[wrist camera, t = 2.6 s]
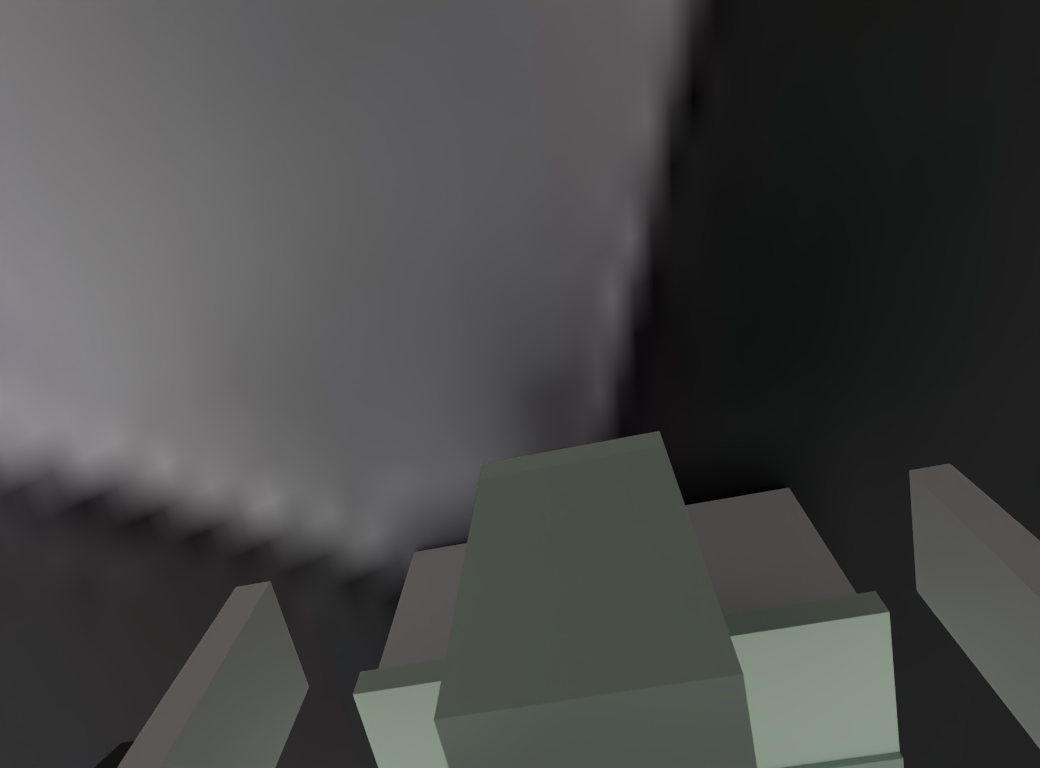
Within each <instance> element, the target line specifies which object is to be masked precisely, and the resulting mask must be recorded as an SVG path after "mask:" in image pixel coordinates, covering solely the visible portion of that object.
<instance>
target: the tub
mask: <svg viewBox="0 0 1040 768" xmlns="http://www.w3.org/2000/svg"><path fill="white" fill-rule="evenodd" d="M685 507H686V509H687V512H688V515H689V518H690V521H691V524H692V527H693V530H694V533H695V536H696V538H697V541H698V544H699V547H700V550H701V553H702V556H703V559H704V562H705V565H706V567H707V570H708V573H709V576H710V579H711V582H712V585H713V588H714V591H715V594H716V596H717V599H718V602H719V605H720V608H721V611H722V614H723V615H727V614H733V613H740V612H746V611H752V610H759V609H765V608H771V607H778V606H784V605H791V604H797V603H803V602H810V601H816V600H822V599H829V598H835V597H841V596H848V595H854V594H856V592H855V590H854V589H853V587H852V586H851V584H850V583H849V581H848V579H847V578H846V576H845V575H844V573H843V572H842V570H841V568H840V567H839V565H838V564H837V562H836V561H835V559H834V557H833V556H832V554H831V553H830V551H829V550H828V548H827V546H826V545H825V543H824V542H823V540H822V539H821V537H820V535H819V534H818V532H817V531H816V529H815V528H814V526H813V524H812V523H811V521H810V520H809V518H808V517H807V515H806V514H805V512H804V510H803V509H802V507H801V506H800V504H799V503H798V501H797V499H796V498H795V496H794V495H793V493H792V492H791V490H790V488H784V489H778V490H772V491H766V492H760V493H755V494H749V495H743V496H737V497H731V498H726V499H720V500H714V501H708V502H702V503H696V504H691V505H685ZM466 546H467V543H464V544H458V545H452V546H447V547H441V548H435V549H429V550H423V551H418V552H414V554H413V557H412V561H411V564H410V567H409V571H408V574H407V577H406V580H405V584H404V587H403V590H402V594H401V597H400V600H399V603H398V607H397V610H396V613H395V616H394V620H393V623H392V626H391V630H390V633H389V636H388V639H387V643H386V646H385V649H384V653H383V656H382V659H381V662H380V666H379V669H383V668H389V667H395V666H402V665H408V664H415V663H421V662H427V661H434V660H440V659H445V658H446V653H447V647H448V642H449V637H450V631H451V626H452V621H453V615H454V610H455V605H456V600H457V594H458V589H459V584H460V578H461V573H462V568H463V562H464V557H465V552H466Z"/></svg>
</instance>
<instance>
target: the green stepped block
mask: <svg viewBox="0 0 1040 768" xmlns="http://www.w3.org/2000/svg"><path fill="white" fill-rule="evenodd" d="M353 696H354V699H355V702H356V705H357V708H358V711H359V713H360V716H361V719H362V722H363V725H364V728H365V731H366V733H367V736H368V739H369V742H370V745H371V748H372V751H373V753H374V756H375V759H376V762H377V765H378V768H904V764H903V757H902V755H901V754H900V752H899V738H898V724H897V710H896V697H895V683H894V669H893V655H892V641H891V628H890V614H889V611H888V609H887V608H886V606H885V605H884V603H883V602H882V600H881V599H880V597H879V596H878V594H877V593H876V592H875V591H873V592H867V593H861V594H854V595H848V596H841V597H835V598H829V599H822V600H816V601H810V602H803V603H797V604H791V605H784V606H778V607H771V608H765V609H759V610H752V611H746V612H740V613H733V614H727V615H723V614H722V611H721V608H720V605H719V602H718V599H717V596H716V594H715V591H714V588H713V585H712V582H711V579H710V576H709V573H708V570H707V567H706V565H705V562H704V559H703V556H702V553H701V550H700V547H699V544H698V541H697V538H696V536H695V533H694V530H693V527H692V524H691V521H690V518H689V515H688V512H687V509H686V507H685V504H684V501H683V498H682V495H681V492H680V489H679V486H678V483H677V480H676V478H675V475H674V472H673V469H672V466H671V463H670V460H669V457H668V454H667V452H666V449H665V446H664V443H663V440H662V437H661V434H660V431H657V432H652V433H646V434H641V435H635V436H630V437H624V438H619V439H614V440H608V441H603V442H597V443H592V444H586V445H581V446H575V447H570V448H564V449H559V450H553V451H548V452H542V453H537V454H531V455H526V456H520V457H515V458H509V459H504V460H498V461H493V462H487V463H482V467H481V472H480V478H479V483H478V488H477V493H476V499H475V504H474V509H473V515H472V520H471V525H470V531H469V536H468V541H467V546H466V552H465V557H464V562H463V568H462V573H461V578H460V584H459V589H458V594H457V600H456V605H455V610H454V615H453V621H452V626H451V631H450V637H449V642H448V647H447V653H446V658H445V659H440V660H434V661H427V662H421V663H415V664H408V665H402V666H395V667H389V668H383V669H376V670H370V671H364V672H360V675H359V678H358V681H357V684H356V687H355V690H354V693H353Z"/></svg>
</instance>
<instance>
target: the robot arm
mask: <svg viewBox="0 0 1040 768" xmlns="http://www.w3.org/2000/svg"><path fill="white" fill-rule="evenodd" d="M909 474H910V490H911V507H912V523H913V539H914V556H915V572H916V588H917V592H918V593H919V594H920V595H921V597H922V598H923V599H924V601H925V602H926V603H927V604H928V606H929V607H930V608H931V609H932V611H933V612H934V613H935V615H936V616H937V617H938V618H939V620H940V621H941V622H942V624H943V625H944V626H945V627H946V629H947V630H948V631H949V633H950V634H951V635H952V636H953V638H954V639H955V640H956V642H957V643H958V644H959V645H960V647H961V648H962V649H963V651H964V652H965V653H966V654H967V656H968V657H969V658H970V660H971V661H972V662H973V663H974V665H975V666H976V667H977V669H978V670H979V671H980V672H981V674H982V675H983V676H984V678H985V679H986V680H987V681H988V683H989V684H990V685H991V687H992V688H993V689H994V690H995V692H996V693H997V694H998V696H999V697H1000V698H1001V699H1002V701H1003V702H1004V703H1005V704H1006V706H1007V707H1008V708H1009V710H1010V711H1011V712H1012V713H1013V715H1014V716H1015V717H1016V719H1017V720H1018V721H1019V722H1020V724H1021V725H1022V726H1023V728H1024V729H1025V730H1026V731H1027V733H1028V734H1029V735H1030V737H1031V738H1032V739H1033V740H1034V742H1035V743H1036V744H1037V746H1038V747H1039V748H1040V541H1039V540H1038V539H1037V538H1036V537H1035V536H1033V535H1032V534H1031V533H1030V532H1029V531H1028V530H1026V529H1025V528H1024V527H1023V526H1022V525H1021V524H1019V523H1018V522H1017V521H1016V520H1015V519H1014V518H1013V517H1011V516H1010V515H1009V514H1008V513H1007V512H1006V511H1004V510H1003V509H1002V508H1001V507H1000V506H999V505H997V504H996V503H995V502H994V501H993V500H992V499H991V498H989V497H988V496H987V495H986V494H985V493H984V492H982V491H981V490H980V489H979V488H978V487H977V486H975V485H974V484H973V483H972V482H971V481H970V480H968V479H967V478H966V477H965V476H964V475H963V474H962V473H960V472H959V471H958V470H957V469H956V468H955V467H953V466H952V465H951V464H944V465H939V466H933V467H927V468H921V469H915V470H910V471H909ZM308 688H309V686H308V683H307V680H306V677H305V675H304V672H303V669H302V667H301V664H300V661H299V658H298V656H297V653H296V650H295V647H294V645H293V642H292V639H291V637H290V634H289V631H288V628H287V626H286V623H285V620H284V617H283V615H282V612H281V609H280V607H279V604H278V601H277V598H276V596H275V593H274V590H273V587H272V585H271V582H270V581H269V582H263V583H258V584H252V585H246V586H240V587H236V588H235V590H234V591H233V593H232V594H231V596H230V597H229V599H228V600H227V602H226V603H225V605H224V606H223V608H222V609H221V611H220V612H219V614H218V615H217V617H216V618H215V620H214V621H213V623H212V624H211V626H210V628H209V629H208V631H207V632H206V634H205V635H204V637H203V638H202V640H201V641H200V643H199V644H198V646H197V647H196V649H195V650H194V652H193V653H192V655H191V656H190V658H189V659H188V661H187V662H186V664H185V665H184V667H183V668H182V670H181V671H180V673H179V675H178V676H177V678H176V679H175V681H174V682H173V684H172V685H171V687H170V688H169V690H168V691H167V693H166V694H165V696H164V697H163V699H162V700H161V702H160V703H159V705H158V706H157V708H156V709H155V711H154V712H153V714H152V715H151V717H150V719H149V720H148V722H147V723H146V725H145V726H144V728H143V729H142V731H141V732H140V734H139V735H138V737H137V738H136V740H135V741H131V742H124V743H121V744H120V745H118V746H117V747H116V748H115V749H114V750H113V751H112V752H111V753H110V754H109V755H108V756H107V757H105V758H104V759H103V760H102V761H101V762H100V763H99V764H98V765H97V766H96V767H95V768H275V767H276V764H277V762H278V759H279V757H280V755H281V752H282V750H283V747H284V745H285V743H286V740H287V738H288V735H289V733H290V731H291V728H292V726H293V723H294V721H295V719H296V716H297V714H298V711H299V709H300V707H301V704H302V702H303V699H304V697H305V695H306V692H307V690H308Z"/></svg>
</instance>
